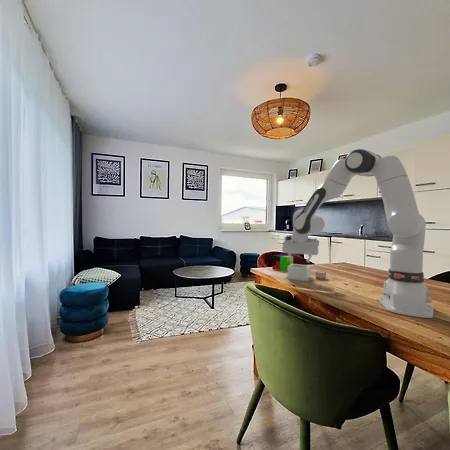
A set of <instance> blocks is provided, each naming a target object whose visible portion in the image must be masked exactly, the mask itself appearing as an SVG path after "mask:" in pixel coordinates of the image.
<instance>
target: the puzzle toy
mask: <svg viewBox="0 0 450 450" xmlns="http://www.w3.org/2000/svg"><path fill="white" fill-rule="evenodd" d="M291 257H292V258H293V259H294V256H293V255H291ZM271 264H272V265H271V267H272V269H274V270H278V271H284V272H285V271H288V266H289V265H291V264H294V260H293V261H290V257H289V255H288V254H287V255H285V254H276V255H275V254H274V255H272V263H271ZM274 270H273V271H274Z"/></svg>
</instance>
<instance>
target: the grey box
mask: <svg viewBox="0 0 450 450" xmlns="http://www.w3.org/2000/svg"><path fill="white" fill-rule="evenodd" d="M286 275H287V276H286V277H287V279H286V280H290V279H295V280H294V281H297V280H303V281H302V282H305V281H307V280H309V279H310V278H311V277H312V276H311V275H312V265H308V264H298V263H293V264H291V265H289V266H288V270H287V274H286Z"/></svg>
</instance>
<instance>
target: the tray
mask: <svg viewBox="0 0 450 450" xmlns="http://www.w3.org/2000/svg"><path fill="white" fill-rule="evenodd" d="M314 278H315V277H313V276H311V278H310V279H309V280H307V281H303V280H295V279H289V280H291V281H300V282H306V283H310V282H311V281H312V280H313V279H314ZM283 279H284V280H288V279H287V276H285V277H283Z"/></svg>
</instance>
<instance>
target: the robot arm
mask: <svg viewBox="0 0 450 450" xmlns="http://www.w3.org/2000/svg"><path fill="white" fill-rule="evenodd" d="M354 176H359V177H360V176H363V177H374V178H375V180H376V183H377V186H378V189H379V193H380V195H381V198H382V201H383V206H384V213H385V218H386V221H387V223H386V224H387V226H388V229H389V231H390V233H392V235H393V236H392V241H391V246H390V247H391V248H390V250H389V251H390V252H389V254H390V255H389V269H388V272H387V274H388V275H387V276H388V278H387V279H386V280H385V281H383V293H382V297H378V299H377V300H378V302H379V303H380V305H382V306H383V307H384V309H386V310H387V311H388V312H392V313H395V314H397V315H398V314H399V315H404V316H409V317H415V318H423V319H424V318H425V319H433V318H434V305H432V302H433V301H432V300H433V298H432V296H430V291H428V286H427V285H426V284H424V281H425V275H424V274H425V273H424V272H423V265H424V264H423V263H424V262H423V261H424V247H425V239H426V238H425V237H426V225H427V224H426V223H427V222H426V219H425V217H423V216H422V215H421V214H420V211H419V209H418V205H417V200H416V198H415V193H414V191H413V188H412V185H411V181H410V178H409V176H408V174H407V171H406V168H405V166H404V165H403V163H402V161H401V160H400V158H399V157H398V156H396V155H386V156H382V157H381V155H379V154H376V153H374V152H373V151H370V150H366V149H362V148H359V149H358V148H357V149H354V150H351V151H350V152H349V153H347V155H346V157H345V158H341V159H338V160H336V162H335V163H334V164H333V165H332V166H331V168H330V169H329V172H328V173H327V174H326V176H325V179H324V180H323V182H322V183H321V185H320V186H318V188H317V189H316V190H315V191H314V192H313V194H312V195H311V197H310V198H309V199H308V201H307V203H306V204H305V205H304V207H303V209H298V210H296V211H294V212H293V216H292V227H293V229H292V234H291V235H287V236H284V237H283V238H284V239H283V240H284V241H283V243H282V249H281V251H282V252H283V253H284V254H285V253H286V254H287V256H289V257H290V261H293V262H294V257H293V258H292V257H291V256H292V254H296V255H308V258H307V259H306V260H305V261H306V263H308V264H309V263H310V260H311V258H312V256H317V255H318V254H319V246H320V241H319V240H318V239H317V238H310V237H309V234H317V233H321V232H322V231H323V230H324V227H325V220H324V219H323V217H321V216H318V215H316V213H317V212H318V210H319V208H320V207H321V205H323V204H324V203H326V202H328V201H330V200H334V199H337V198H340V196H342V194H343V193H344V192H345V190H346V189H347V187H348V186H349V183H350V182H351V180H352V178H354ZM429 303H430V304H429Z"/></svg>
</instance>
